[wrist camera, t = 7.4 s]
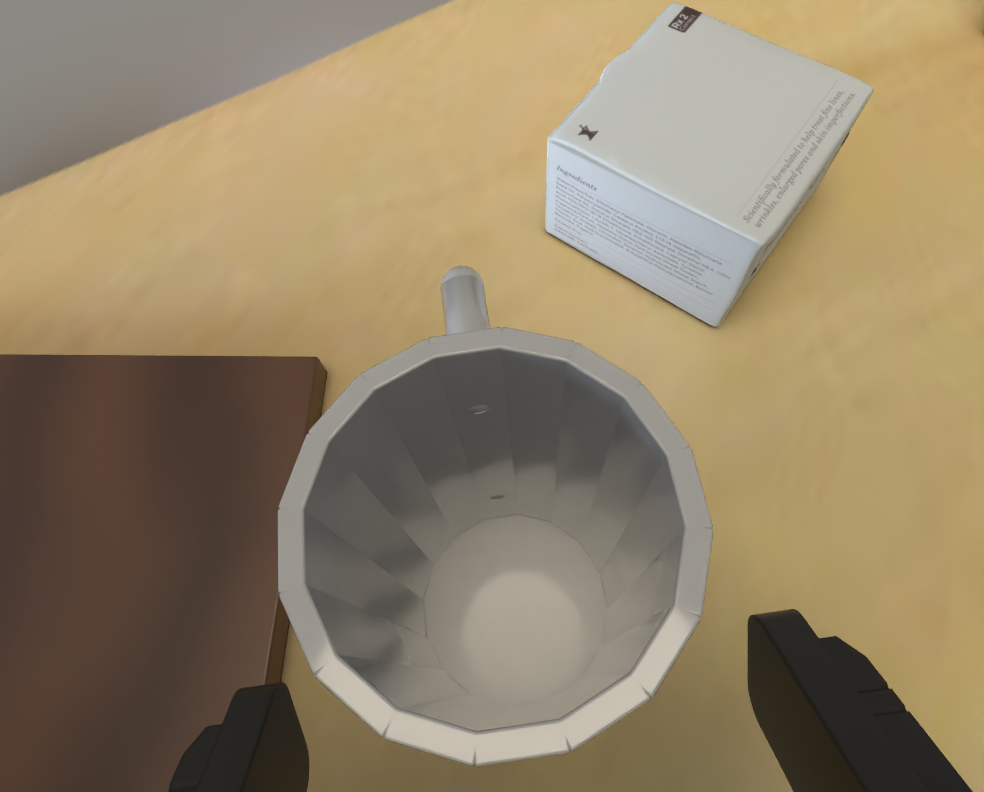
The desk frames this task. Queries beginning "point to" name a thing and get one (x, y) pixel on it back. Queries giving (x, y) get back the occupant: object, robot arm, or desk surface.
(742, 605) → the desk surface
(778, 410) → the desk surface
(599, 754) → the desk surface
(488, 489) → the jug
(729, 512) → the desk surface
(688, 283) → the small box
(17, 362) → the walnut board
